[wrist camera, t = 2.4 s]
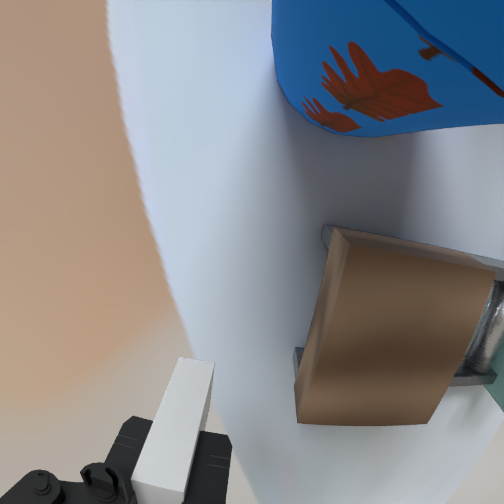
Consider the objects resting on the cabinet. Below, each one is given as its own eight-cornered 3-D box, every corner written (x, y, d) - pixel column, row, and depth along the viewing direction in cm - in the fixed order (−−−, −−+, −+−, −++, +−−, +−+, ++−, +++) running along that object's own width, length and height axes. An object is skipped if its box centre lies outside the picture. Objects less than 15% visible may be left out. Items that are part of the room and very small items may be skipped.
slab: (334, 226, 19) (350, 243, 15) (464, 252, 19) (496, 271, 15) (293, 385, 23) (297, 423, 19) (410, 391, 22) (427, 423, 19)
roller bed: (324, 224, 22) (332, 234, 19) (519, 265, 22) (539, 276, 19) (292, 357, 25) (295, 380, 22) (479, 366, 25) (493, 383, 22)
